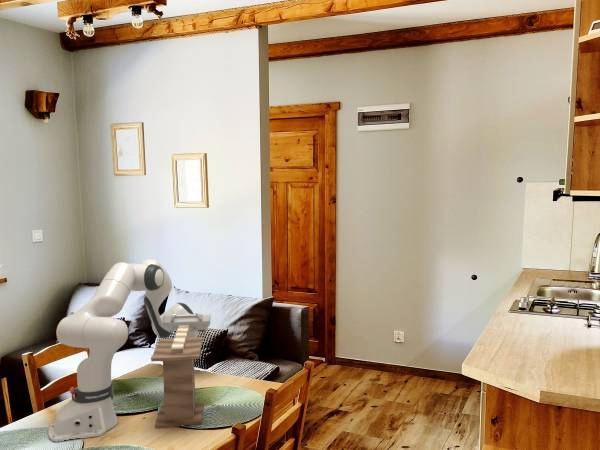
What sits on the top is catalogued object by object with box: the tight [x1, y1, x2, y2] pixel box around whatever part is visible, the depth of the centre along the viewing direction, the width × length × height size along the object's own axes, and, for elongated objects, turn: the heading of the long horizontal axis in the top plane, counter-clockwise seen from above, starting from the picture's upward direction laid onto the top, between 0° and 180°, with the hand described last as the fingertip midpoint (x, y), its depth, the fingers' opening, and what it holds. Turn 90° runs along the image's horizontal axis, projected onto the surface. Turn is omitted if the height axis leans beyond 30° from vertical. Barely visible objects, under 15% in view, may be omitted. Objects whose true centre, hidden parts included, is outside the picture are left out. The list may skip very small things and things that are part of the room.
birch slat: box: [171, 325, 189, 354], centre depth 194 cm, size 30×4×2 cm, turn 8°
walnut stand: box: [150, 336, 205, 429], centre depth 187 cm, size 22×16×26 cm
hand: (185, 315), depth 217 cm, fingers open, 8 cm apart
